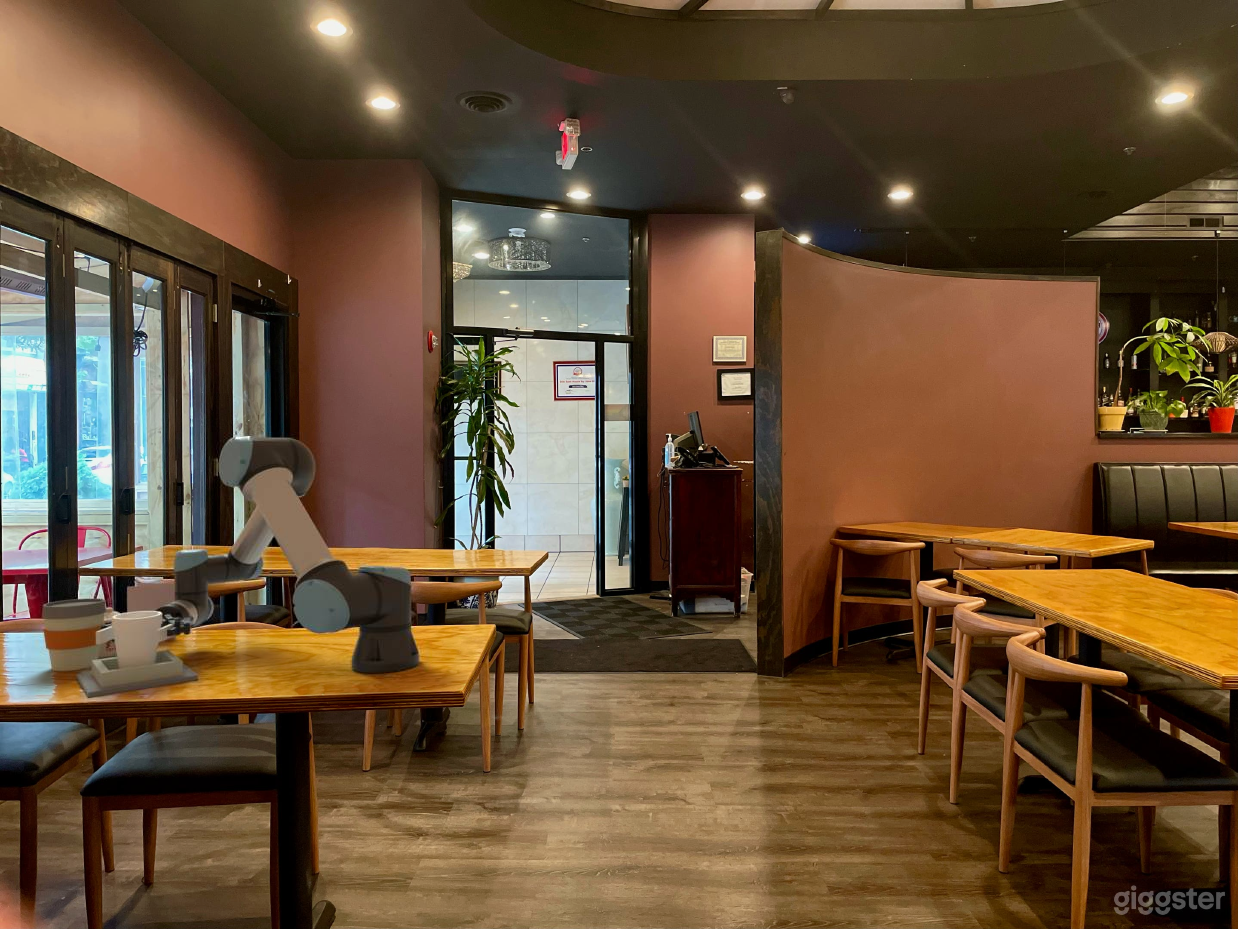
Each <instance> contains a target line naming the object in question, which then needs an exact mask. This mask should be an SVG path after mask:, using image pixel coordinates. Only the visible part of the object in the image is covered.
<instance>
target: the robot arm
mask: <svg viewBox="0 0 1238 929" xmlns="http://www.w3.org/2000/svg"><path fill="white" fill-rule="evenodd" d="M218 473H219V477H220V480H221V481H222V483H223V484H224V485H225V486H227V487H231V488H236V487H238V490H240V492H241V494H242V496H243V498H244V499H246V500H247V501H250V502H253V503H255V505H256V507H255V509H254V510H253V512H252V514H251V515H250V517H249V519H248V520H247V521H246V522H247V523H245V526H244V527H243V528H242V530H241V532H240V534H239V535H238V536H237V539H235V542H234V543H233V545H232V546H231V547H230V550H229V552H228V553H224V554H213V555H212V554H208V551H207V549H204V548H203V549H202V548H201V549H199V548H198V549H197V548H196V549H195V548H194V549H182V550H181V549H180V550H178V551H177V552H176V553H175V554H174V560H173V575H174V576H173V578H174V581H173V582H174V584H175V594H174V602H172V603H169V604H167V605H165V606H162V607H160V608H158V609H157V610H156V611H158V612H161V613H162V624H161V628H160V629H157V630H156V642H158V643H161V642H163V641H166V640H168V638H171V637H173V636H174V635H176V637H177V636H181V634H184V636H185V635H186V636H189V635H190V634H191V629H193V628H194V627H196V626H199V625H201V624H203V623H204V622H206V621H208V619H210V617H211V616H212V615H213V613H214V609H215V605H214V602H213V600H212V599H211V598H210V596H209V592H208V591H209V589H208V588H209V585H217V584H224V583H232V582H233V583H234V582H243V581H248V580H252V579H257V578H259V576H260V575H261V574H262V572H263V568H264V560H263V557H262V555H263V554H264V552H265V551H266V549H267V547H268V546H269V545H270V543H271V541H272V540H273V538H275V540H276V542H277V544H278V545H279V547H280V549H281V551H282V553H283V554H284V556H285V557H286V558H285V559H286V560H287V562H288V563H289V565H290V567H291V569H292V571H293V572H294V574H295V576H296V578H297V580H296V582H295V584H294V589H295V590H294V593H293V596H292V603H293V605H294V607H293V612H294V615H295V617H296V619H297V621H298V622H299V623H300V625H301V626H302V627H303V628H304V629H306V630H307V631H309V632H311V633H313V634H322V635H323V634H327V633H328V634H332V633H333V634H334V633H338V632H340V631H343V630H348V629H352V628H357V627H358V630H359V631H358V635H357V636H358V638H357V639H356V643H355V647H354V650H353V652H352V656H351V669H352V670H353V671H355V672H359V673H365V674H367V673H370V674H373V673H374V674H382V673H393V672H399V671H405V670H408V669H412V668H414V667H416V666H418V665H419V664H420V652H419V648H418V646H417V643H416V640H415V637H414V634H413V631H412V587H413V586H412V585H413V584H412V582H411V579H412V578H411V573H410V571H409V570H408V569H407V568H406V567H399V566H398V567H397V566H381V565H380V566H379V565H360V566H359V567H358V570H357V573H352V572H351V570H350V569H349V568H348V566H347V564H346V562H345V561H344V560H342V559H339V558H338V559H337V558H335V557H334V556H333V554H332V553H331V550H330V549H329V547H328V546H327V544H326V542H325V540H324V539H323V537H322V535H321V533H320V532H319V531H318V530H319V529H317V527H316V525H315V523H314V521H312V518H311V517H310V515H309V513H308V511H307V510H306V508H305V506H304V505H303V503H302V501H301V500H300V498H301V497H303V496H305V495H306V494H307V493H308V491H309V489H310V488H311V486H312V484H313V482H314V479H315V475H316V460H315V457H314V455H313V453H312V451H311V449H309V447H308V446H306V444H304V443H303V442H302V441H301V440H297V439H295V438H293V437H268V436H267V437H266V436H250V435H245V436H235V437H231V438H230V439H228V440H227V442H226V443H224V446H223V447H222V450H221V452H220V455H219V460H218ZM113 639H114V632H113V628H112V624H107V625H102V626H101V630H100V631H97V632H96V644H102V643H104V642H107V641H112V640H113ZM171 639H172V638H171Z"/></svg>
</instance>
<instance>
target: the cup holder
mask: <svg viewBox="0 0 1238 929" xmlns="http://www.w3.org/2000/svg"><path fill="white" fill-rule="evenodd" d="M76 679H77V681H78V683H79V685H80V686H81V688H82V690H83V691H84V693H85V694H86V696H87V698H93V697H98V696H99V697H100V696H106V695H112V694H117V693H124V692H130V691H137V690H143V689H149V688H155V687H161V686H167V685H174V684H180V683H187V682H193V681H198V680H199V674H197V673H196V672H195V671H193V669H191V668H190V667H189V666H188V665H186V664H185V663H184V662H183V660H182V659H180V658H179V657H178V656H176V655H175V653H173V652H172V651H171V650H169V649H165V650H159V651H158V650H157V655H156V662H155V664H150V665H143V666H137V667H130V668H123V669H119V666H118V659H117V656H114V657H107V658H98V660H92V667H91V671H88V672H79V673H76Z"/></svg>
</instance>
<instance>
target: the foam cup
mask: <svg viewBox="0 0 1238 929" xmlns="http://www.w3.org/2000/svg"><path fill="white" fill-rule="evenodd" d="M161 624H162V613H161V612H158V611H138V612H129V613H127V612H122V613H120V614H118V615H114V616H113V617H112V628H113V632H114V639H115V645H116V652H117V656H116V657H117V659H118V666H119V669H123V668H130V667H137V666H143V665H150V664H155V662H156V655H157V651H158V647H159V642H156V630H157V629H160V628H161Z"/></svg>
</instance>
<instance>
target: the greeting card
mask: <svg viewBox="0 0 1238 929" xmlns="http://www.w3.org/2000/svg"><path fill="white" fill-rule="evenodd" d="M126 591H127V592H126V596H127V598H126V605H127V606H126V607H127V608H126V609H127V610H126V611H127V612H126V613H129V612H138V611H156V610H157V609H158V608H160V607H162V606H165V605H167V604H169V603H172V602H174V594H175V583H160V582H159V583H151V582H148V583H147V582H143V583H142V582H141V583H140V582H138V583H137V585H133V586H127V588H126ZM168 639H171V640H172V639H177V636H176V635H174V636H173V637H171V638H168ZM168 639H167V640H168Z"/></svg>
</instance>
